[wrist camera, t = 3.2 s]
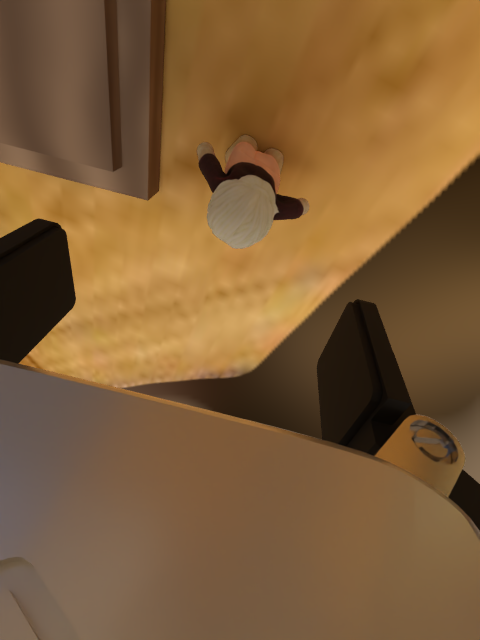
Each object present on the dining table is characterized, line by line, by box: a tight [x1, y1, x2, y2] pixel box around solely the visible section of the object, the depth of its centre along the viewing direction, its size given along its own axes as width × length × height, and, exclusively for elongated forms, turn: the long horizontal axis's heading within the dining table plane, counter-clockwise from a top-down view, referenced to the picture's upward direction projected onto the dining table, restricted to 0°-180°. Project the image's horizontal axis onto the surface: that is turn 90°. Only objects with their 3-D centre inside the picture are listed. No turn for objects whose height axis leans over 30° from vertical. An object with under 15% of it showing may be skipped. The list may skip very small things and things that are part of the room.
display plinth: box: [0, 0, 166, 200], centre depth 20 cm, size 14×16×4 cm
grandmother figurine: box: [197, 135, 309, 249], centre depth 19 cm, size 8×4×13 cm, turn 76°
